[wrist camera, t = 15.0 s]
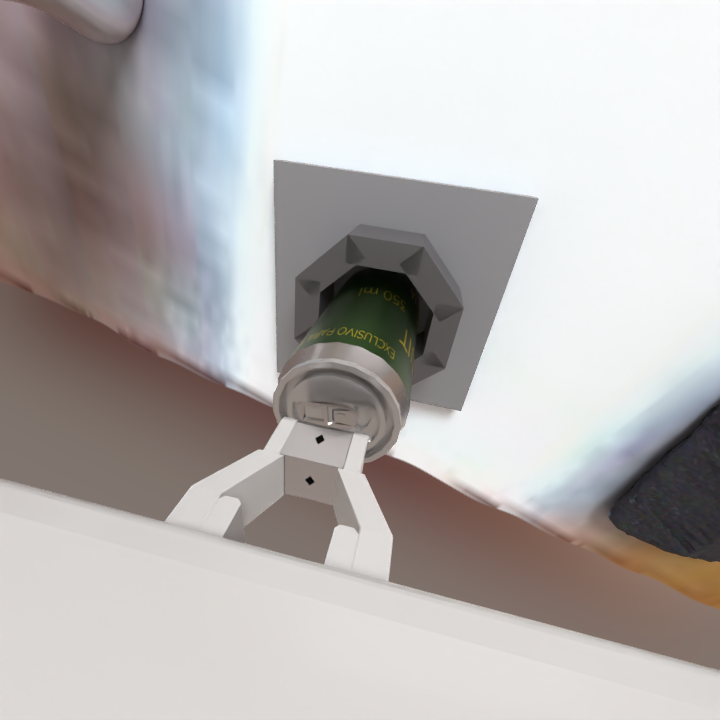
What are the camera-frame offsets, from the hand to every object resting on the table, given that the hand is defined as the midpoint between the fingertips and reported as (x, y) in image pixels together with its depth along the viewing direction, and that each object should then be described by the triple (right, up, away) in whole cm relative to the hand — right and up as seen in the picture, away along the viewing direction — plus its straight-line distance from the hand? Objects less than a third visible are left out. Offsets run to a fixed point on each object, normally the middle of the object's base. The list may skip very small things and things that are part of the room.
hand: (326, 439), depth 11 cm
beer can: (+3, +7, +11) cm, 13 cm away
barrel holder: (+3, +7, +12) cm, 14 cm away
